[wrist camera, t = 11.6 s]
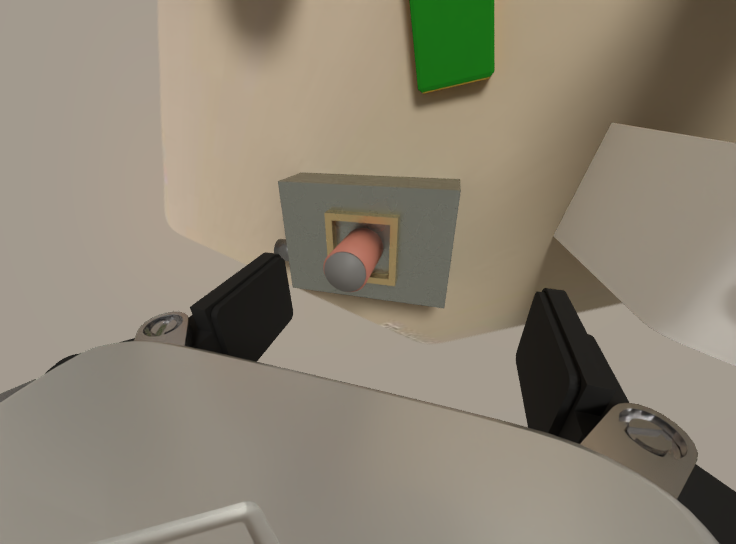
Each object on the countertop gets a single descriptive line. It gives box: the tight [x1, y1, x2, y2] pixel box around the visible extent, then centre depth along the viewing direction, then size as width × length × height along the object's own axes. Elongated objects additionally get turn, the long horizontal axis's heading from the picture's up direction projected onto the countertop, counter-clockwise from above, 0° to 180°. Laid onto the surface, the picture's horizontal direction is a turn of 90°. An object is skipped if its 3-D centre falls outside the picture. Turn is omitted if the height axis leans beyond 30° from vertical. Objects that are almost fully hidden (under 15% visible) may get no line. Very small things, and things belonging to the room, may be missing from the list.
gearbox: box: [274, 173, 461, 308], centre depth 37 cm, size 23×14×7 cm, turn 90°
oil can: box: [323, 228, 383, 292], centre depth 32 cm, size 5×5×7 cm
